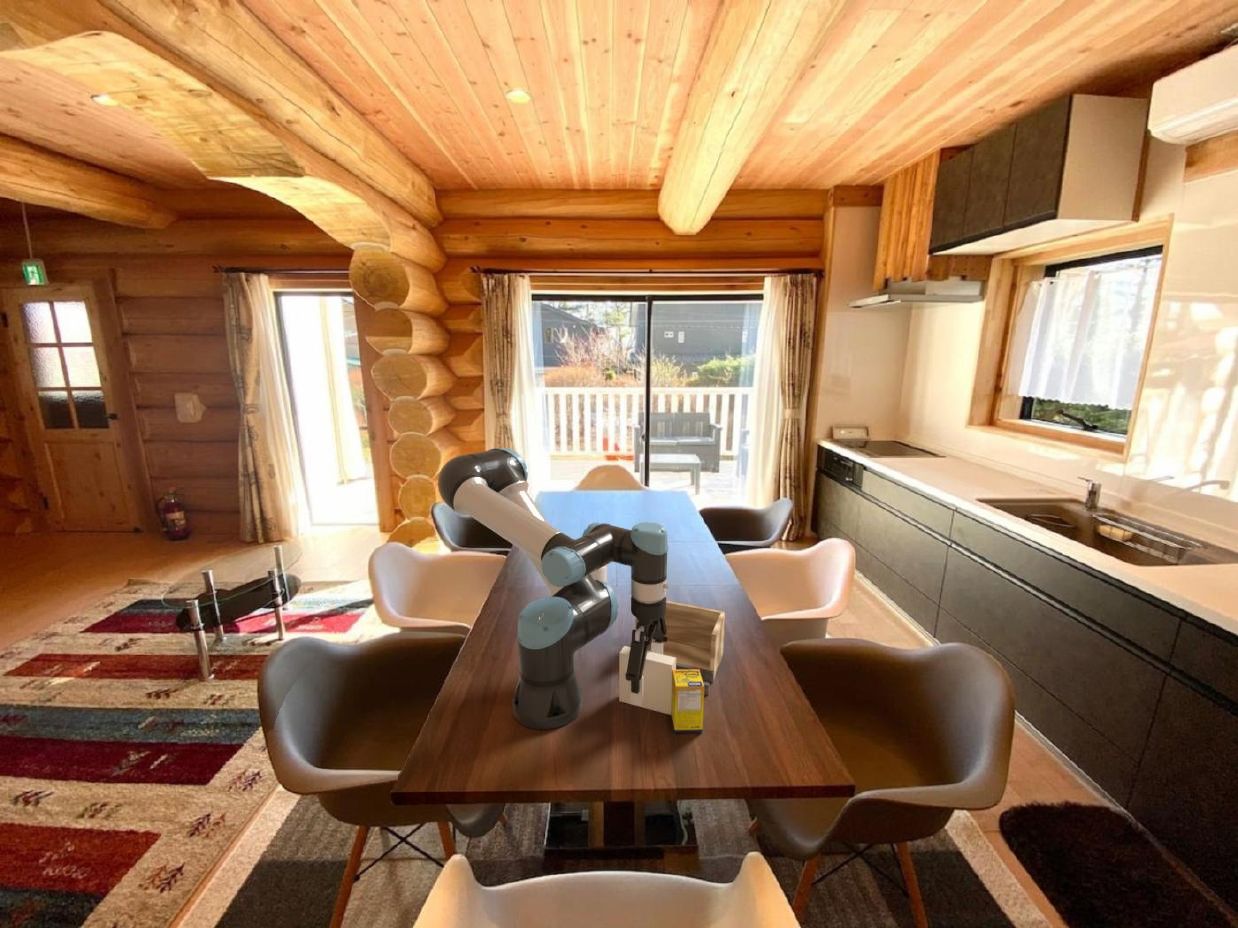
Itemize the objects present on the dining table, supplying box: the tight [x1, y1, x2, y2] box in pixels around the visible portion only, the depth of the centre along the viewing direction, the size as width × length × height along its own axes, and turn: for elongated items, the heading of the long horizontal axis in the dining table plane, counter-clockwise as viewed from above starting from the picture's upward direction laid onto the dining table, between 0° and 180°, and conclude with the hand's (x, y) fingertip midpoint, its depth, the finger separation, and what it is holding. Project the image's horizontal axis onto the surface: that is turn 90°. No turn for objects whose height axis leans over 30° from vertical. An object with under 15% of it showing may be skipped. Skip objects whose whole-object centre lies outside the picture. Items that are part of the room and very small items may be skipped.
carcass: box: [634, 600, 727, 696], centre depth 128 cm, size 18×20×12 cm
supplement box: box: [670, 669, 705, 734], centre depth 108 cm, size 6×6×11 cm
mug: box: [590, 564, 608, 583], centre depth 166 cm, size 12×9×11 cm
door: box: [618, 645, 676, 716], centre depth 113 cm, size 4×12×12 cm, turn 68°
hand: (647, 684), depth 114 cm, fingers open, 13 cm apart
